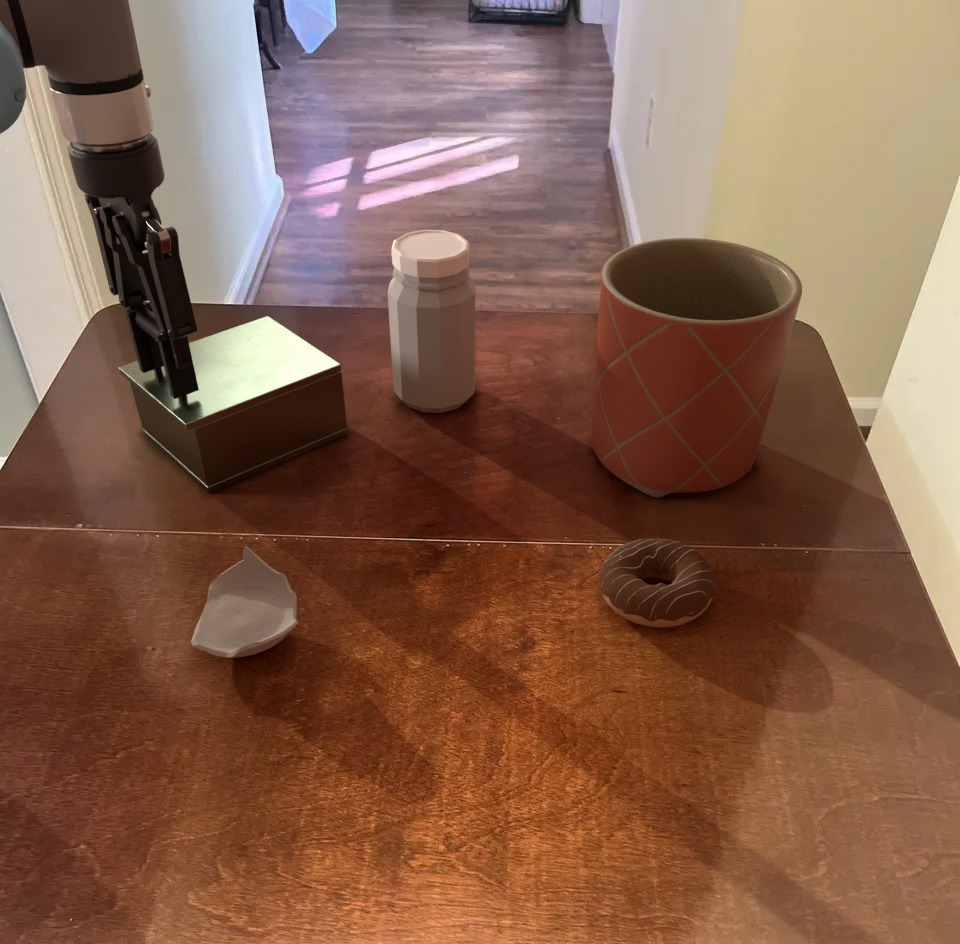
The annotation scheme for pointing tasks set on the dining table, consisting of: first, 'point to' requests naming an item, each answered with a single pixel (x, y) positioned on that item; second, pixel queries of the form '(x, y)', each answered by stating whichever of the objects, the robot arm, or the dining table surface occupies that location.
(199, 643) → the pottery shard
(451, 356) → the jar
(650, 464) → the planter
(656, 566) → the donut
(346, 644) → the dining table surface
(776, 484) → the dining table surface
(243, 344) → the lid
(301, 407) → the compartment
